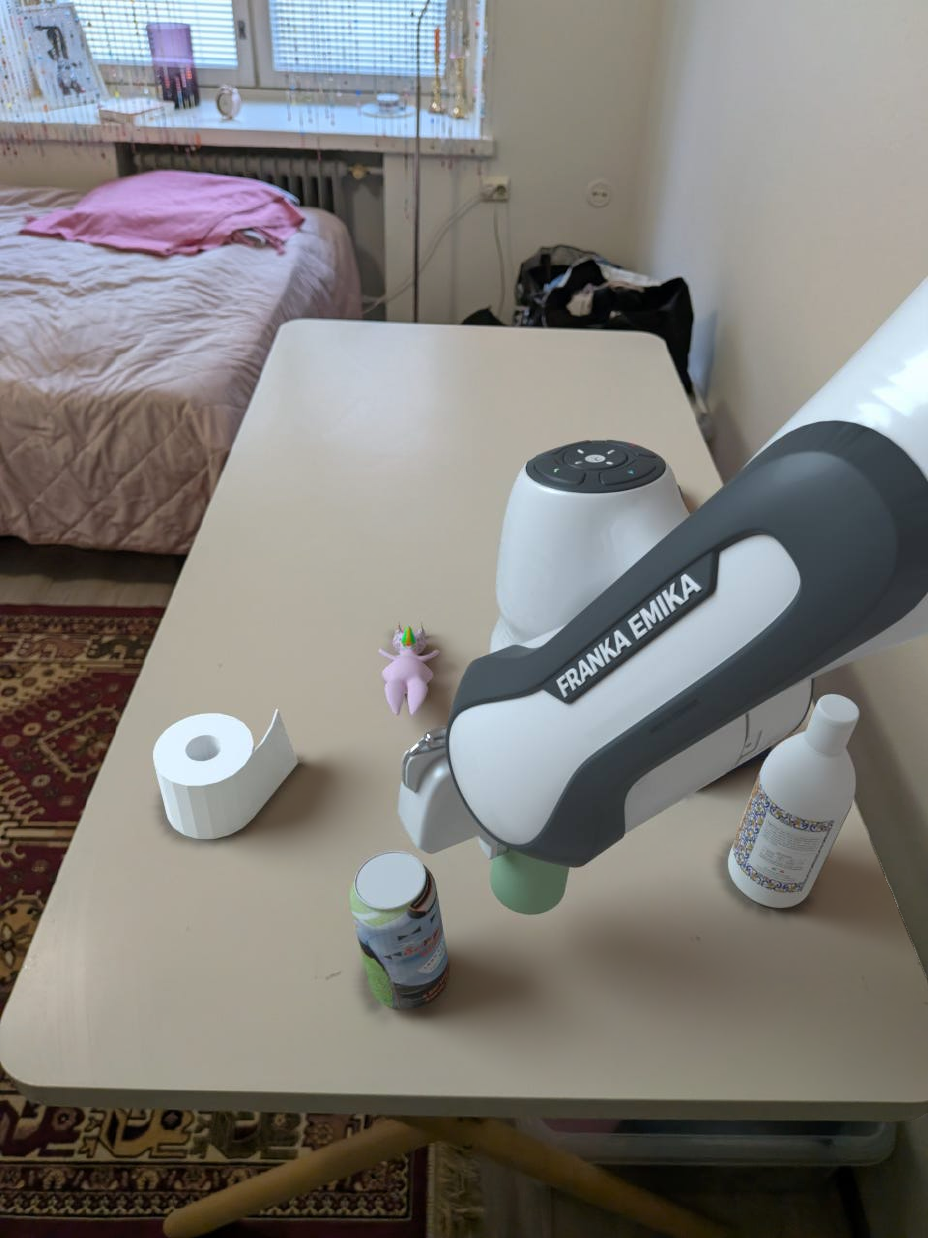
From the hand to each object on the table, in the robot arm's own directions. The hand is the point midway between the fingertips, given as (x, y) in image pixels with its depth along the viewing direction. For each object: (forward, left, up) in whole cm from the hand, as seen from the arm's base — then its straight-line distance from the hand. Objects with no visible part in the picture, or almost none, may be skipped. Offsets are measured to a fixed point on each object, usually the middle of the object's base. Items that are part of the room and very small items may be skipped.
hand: (536, 831), depth 65 cm
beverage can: (+1, +10, -13) cm, 17 cm away
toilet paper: (+23, +16, -13) cm, 31 cm away
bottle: (0, 0, -6) cm, 6 cm away
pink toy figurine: (+30, -4, -13) cm, 33 cm away
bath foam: (-4, -22, -13) cm, 26 cm away
